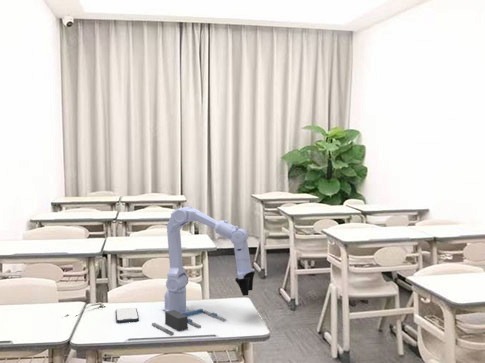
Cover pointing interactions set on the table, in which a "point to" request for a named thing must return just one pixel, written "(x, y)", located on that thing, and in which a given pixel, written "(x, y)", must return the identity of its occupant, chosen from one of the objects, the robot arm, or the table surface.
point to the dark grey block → (176, 320)
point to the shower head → (95, 304)
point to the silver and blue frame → (190, 320)
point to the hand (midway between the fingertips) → (247, 292)
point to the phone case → (127, 315)
